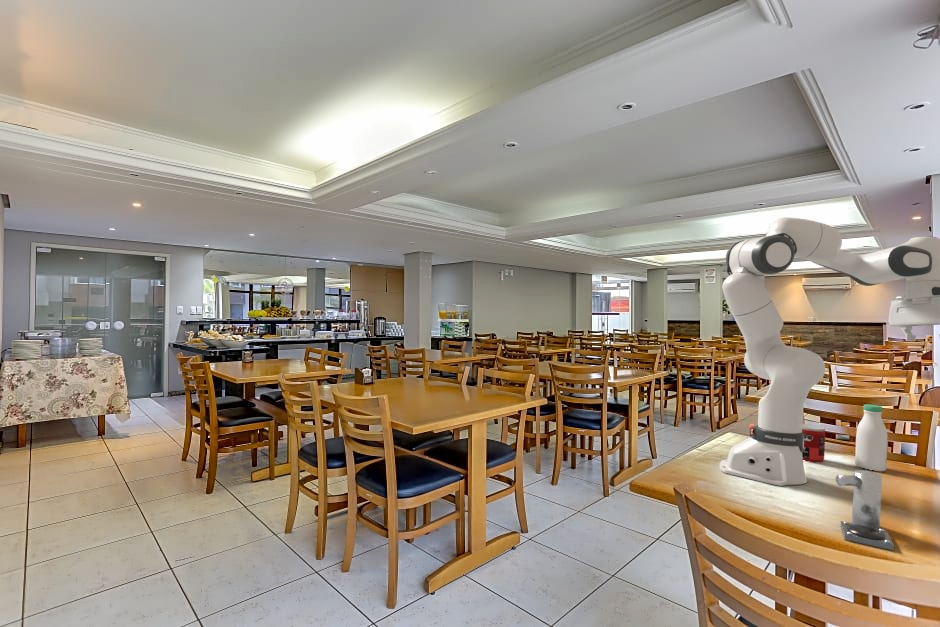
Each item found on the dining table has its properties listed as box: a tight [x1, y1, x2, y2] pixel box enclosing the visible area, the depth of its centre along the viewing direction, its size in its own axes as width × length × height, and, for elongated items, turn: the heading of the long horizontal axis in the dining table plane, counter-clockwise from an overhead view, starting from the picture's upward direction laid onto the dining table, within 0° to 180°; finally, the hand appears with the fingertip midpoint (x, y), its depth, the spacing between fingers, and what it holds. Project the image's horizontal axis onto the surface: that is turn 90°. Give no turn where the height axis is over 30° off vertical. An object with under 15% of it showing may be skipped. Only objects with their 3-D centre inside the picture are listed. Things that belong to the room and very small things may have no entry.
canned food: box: [802, 423, 826, 463], centre depth 161 cm, size 8×8×11 cm
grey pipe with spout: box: [835, 469, 883, 529], centre depth 111 cm, size 9×5×12 cm, turn 90°
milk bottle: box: [854, 403, 889, 472], centre depth 153 cm, size 8×8×20 cm
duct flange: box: [840, 520, 895, 551], centre depth 105 cm, size 8×8×2 cm
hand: (927, 340), depth 137 cm, fingers open, 8 cm apart
